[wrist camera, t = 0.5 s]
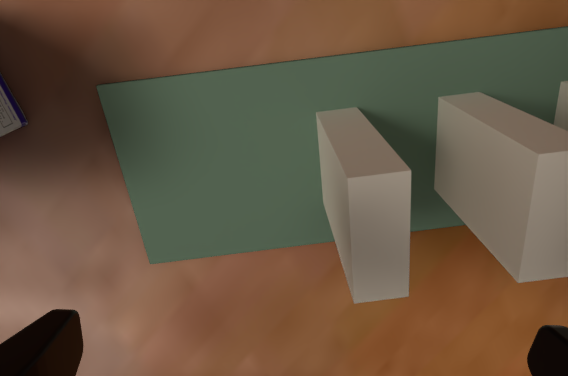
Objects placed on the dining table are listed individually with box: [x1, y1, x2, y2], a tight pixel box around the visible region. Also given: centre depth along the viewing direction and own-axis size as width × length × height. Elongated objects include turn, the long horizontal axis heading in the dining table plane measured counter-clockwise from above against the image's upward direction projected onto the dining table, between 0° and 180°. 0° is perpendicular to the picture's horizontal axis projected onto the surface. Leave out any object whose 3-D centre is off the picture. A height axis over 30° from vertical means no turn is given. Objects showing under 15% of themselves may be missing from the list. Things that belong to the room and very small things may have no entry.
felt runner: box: [96, 26, 568, 264], centre depth 21 cm, size 10×32×1 cm, turn 96°
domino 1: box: [316, 107, 411, 303], centre depth 18 cm, size 5×2×8 cm, turn 6°
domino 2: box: [434, 92, 568, 283], centre depth 18 cm, size 5×2×8 cm, turn 6°
